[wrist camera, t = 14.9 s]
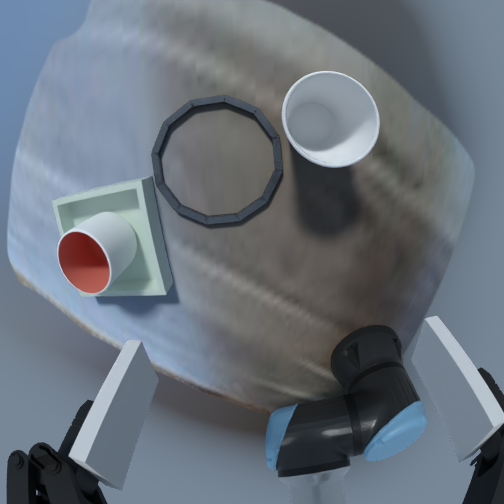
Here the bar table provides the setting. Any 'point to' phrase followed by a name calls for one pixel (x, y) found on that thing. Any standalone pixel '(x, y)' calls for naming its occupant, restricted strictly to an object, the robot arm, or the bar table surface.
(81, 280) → the cup
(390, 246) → the bar table surface
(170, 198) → the socket ring
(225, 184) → the bar table surface
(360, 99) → the coffee cup
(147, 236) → the bin
